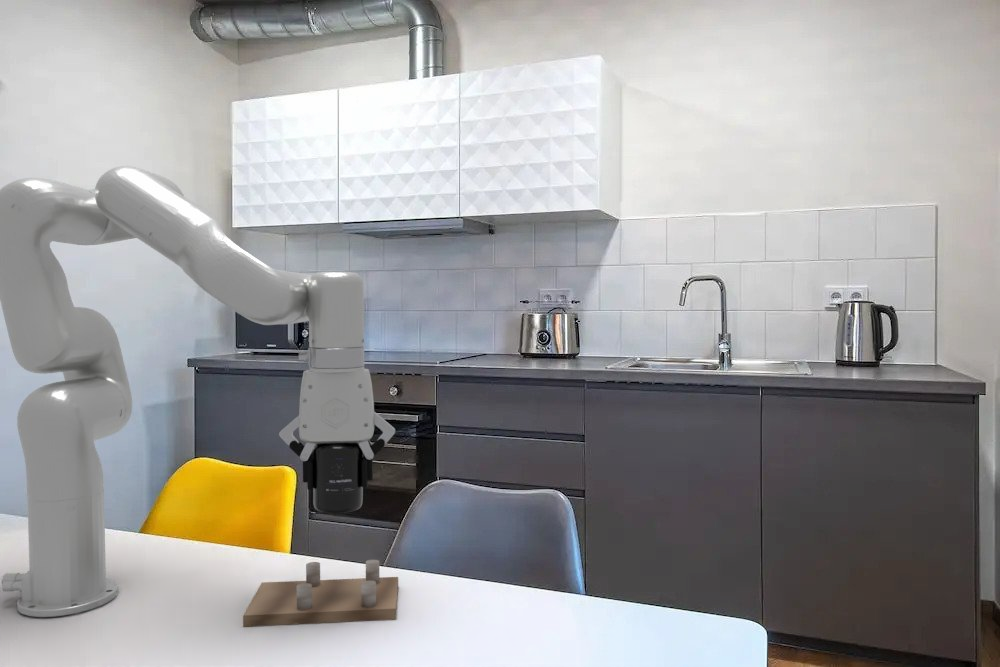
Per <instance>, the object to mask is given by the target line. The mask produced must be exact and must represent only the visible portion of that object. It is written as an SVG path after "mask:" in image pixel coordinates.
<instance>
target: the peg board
mask: <svg viewBox="0 0 1000 667" xmlns="http://www.w3.org/2000/svg"><path fill="white" fill-rule="evenodd" d="M398 593H399V576H385V577H380V560H378V559H368V560H366V561H365V577H362V578H360V577H359V578H342V579H341V578H338V579H337V578H336V579H321V563H320V562H318V561H311V562H307V563H306V564H305V580H293V581H291V580H289V581H288V580H287V581H286V580H285V581H265V582H261V583H260V585H259V587H258V588H257V590H256V591H255V594H254V595H253V597H252V599H251V601H250V603H249V604H248V606H247V607H246V610H245V611H244V613H243V615H242V627H244V628H245V627H263V626H264V627H265V626H283V625H284V626H286V625H287V626H288V625H289V626H290V625H307V624H308V625H309V624H327V623H328V624H329V623H345V622H346V623H348V622H367V621H368V622H369V621H373V622H374V621H391V620H393V621H394V620H397V609H398V597H399V594H398Z"/></svg>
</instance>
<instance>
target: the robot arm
mask: <svg viewBox="0 0 1000 667" xmlns="http://www.w3.org/2000/svg"><path fill="white" fill-rule="evenodd" d="M94 187H95V188H94V189H87V188H83V187H78V186H76V185H71V184H68V183H65V182H60V181H56V180H52V179H48V178H40V177H29V178H28V177H27V178H20V179H16V180H13V181H11V182H9V183H7V184H5V185H4V186H2V187H1V188H0V306H1V310H2V313H3V319H4V321H5V327H6V330H7V334H8V338H9V342H10V346H11V347H10V348H11V350H12V352H13V356H14V357H15V361H16V363H17V364H18V365H19V366H20V367H21V368H23V370H26V371H27V372H30V373H34V374H43V375H45V374H46V375H47V374H55V373H56V374H57V373H63V374H62V375H63V378H64V380H62V381H56V382H52V383H49V384H48V383H47V384H45V385H42V386H41V387H38V388H36V389H35V390H33V391H32V392H31V393H29V394H28V395H27V396H26V397H25V398H24V399H23V401H22V403H21V404H20V407H19V408H18V413H17V418H16V420H17V421H16V422H17V423H16V426H17V433H18V436H19V440H20V444H21V447H22V453H23V457H24V458H23V459H24V464H25V465H24V466H25V476H26V498H27V525H28V526H27V528H28V529H27V530H28V533H27V534H28V562H29V566H28V571H27V572H25V573H20V572H15V573H14V572H13V573H11V572H8V573H4V574H3V576H2V579H1V591H2V592H4V593H5V592H14V591H16V592H17V591H19V592H20V593H21V596H20V597H19V598H18V600H17V601H16V602H17V603H16V606H17V611H18V612H19V613H20V614H21V615H25V616H27V617H33V618H52V617H53V618H55V617H63V616H64V617H65V616H68V615H74V614H79V613H83V612H86V611H90V610H93V609H96V608H98V607H101V606H103V605H105V604H107V603H109V602H111V601H112V600H113V599H114V598H115V597H117V595H118V593H119V585H118V584H119V583H117V581H116V580H113V579H110V578H107V567H106V564H107V563H106V527H105V525H106V524H105V521H106V520H105V488H104V485H105V484H104V482H105V481H104V471H103V465H102V461H101V460H100V455H99V453H98V452H97V448H96V445H95V441H98V440H101V439H103V438H104V439H105V438H106V437H109V436H112V435H115V434H117V433H118V432H120V431H121V430H122V429H124V427H125V426H126V425H127V424H128V423H129V420H130V419H131V415H132V412H133V398H132V396H133V395H132V392H131V388H130V382H129V378H128V374H127V370H126V366H125V361H124V356H123V352H122V348H121V346H120V342H119V341H120V340H119V338H118V334H117V331H116V330H115V328H114V326H113V325H112V323H111V322H110V320H108V318H106V317H105V315H103V314H102V313H100V312H98V311H96V310H95V309H93V308H92V309H91V308H88V307H82V306H81V307H79V306H78V307H77V306H74V302H73V301H72V297H71V294H70V290H69V285H68V280H67V276H66V273H65V271H64V269H63V267H62V265H61V263H60V262H59V260H58V258H57V257H56V255H55V254H54V253H53V251H52V248H51V243H52V242H55V243H62V244H71V245H77V246H98V245H105V244H111V243H116V242H123V241H126V240H128V241H129V240H132V239H134V240H135V239H137V240H139V241H141V242H142V243H144V244H145V245H147V246H148V247H149V248H151V249H153V250H154V251H156V252H158V253H159V254H160V255H162V256H163V257H165V258H167V259H168V260H169V261H171V262H172V263H174V264H176V266H178V267H180V268H181V269H182V270H183V272H184V273H185V274H186V276H188V277H189V278H190V279H191V280H192V281H193V282H194V283H195V284H196V285H198V286H199V288H201V289H202V290H203V291H204V292H206V293H208V295H210V296H211V297H213V298H214V299H216V300H217V301H218V302H220V303H221V304H223V305H225V306H227V307H228V308H229V309H231V310H232V311H234V312H235V313H237V314H238V315H241V316H242V317H244V318H245V319H247V320H249V321H250V322H254V323H255V324H260V325H263V326H274V325H292V324H300V323H305V322H306V323H307V322H308V341H309V344H308V345H309V346H308V348H307V350H306V351H304V352H301V351H300V352H298V362H299V363H306V364H307V365H308V367H309V369H306V370H303V372H302V373H303V374H302V378H301V384H300V392H299V394H300V395H299V409H298V410H299V414H298V416H296V417H295V418H294V419H293V420H291V421H290V422H289V423H288V424H287V425H286V426H285V427H283V428H282V429H281V430H280V431H279V433H278V436H279V438H280V439H282V441H283V442H284V444H286V445H287V446H289V449H291V451H292V452H293V453H294V454H296V455H297V456H298V457H299V458H300V460H301V461H302V482H303V483H307V491H308V490H312V489H313V482H314V448H315V446H316V445H317V444H318V443H357V442H358V444H359V446H360V447H361V449H362V451H363V459H362V487H363V489H367V488H368V487H369V481H370V482H371V481H372V482H373V480H374V460H373V459H374V457H375V456H376V455H377V454H378V453H379V452H380V451H381V450H382V449H383V448H384V446H385V445H386V444H387V443H388V442H390V440H391V439H392V437H393V436H394V435H395V434H396V428H395V427H394V426H392V425H391V424H390V423H389V422H387V421H386V419H384V418H383V417H381V415H379V414H378V413H377V412H376V411H375V401H374V392H373V383H372V379H371V378H372V377H371V373H370V370H369V368H365V311H364V310H365V307H364V306H365V304H364V301H365V300H364V299H365V298H364V295H365V294H364V293H365V292H364V282H363V281H364V280H363V278H362V277H361V276H362V275H360V274H358V273H356V272H353V271H320V272H316V273H315V272H314V273H312V274H310V273H309V274H308V273H302V272H296V271H288V270H284V269H276V268H273V267H271V266H269V265H268V264H266V263H265V262H263V261H261V260H260V259H258V258H257V257H255V256H254V255H252V254H251V253H249V252H247V250H245V249H243V248H242V247H240V246H239V245H238V244H236V243H235V242H234V241H233V240H231V239H230V238H229V237H228V236H227V235H226V234H225V233H224V231H223V229H222V223H221V221H220V220H219V218H217V217H216V216H215V215H213V214H212V213H210V212H209V211H208V210H205V208H203V207H200V206H199V205H198V204H196V203H194V202H193V201H191V200H190V199H189V198H187V197H185V196H184V193H183V191H182V189H181V188H180V187H179V186H178V185H177V184H176V183H175V182H174V181H172V180H171V179H169V178H168V177H165V176H163V175H160V174H157V173H155V172H151V171H149V170H145V169H142V168H139V167H136V166H129V165H124V166H123V165H122V166H116V167H113V168H111V169H109V170H107V171H105V172H104V173H103V174H102V175H101V176H100V177H99V178H98V180H97V181H96V183H95V186H94ZM375 426H376V427H377V428H378V429H379V430H380V431H381V432H382V434H381V435H380V436H379V437H378V438H377V439H376V440H375V441H374V442H373V443H372V442H371V439H372V438H373V436H374V431H375ZM297 429H298V434H299V435H298V436H299V439H300V440H301V441H302V442H304V443H305V444H303V443H302V442H301V441H300V440H299V439H297V438H296V437H295V436H294V432H295V431H296V430H297Z"/></svg>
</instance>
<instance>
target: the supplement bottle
mask: <svg viewBox="0 0 1000 667" xmlns="http://www.w3.org/2000/svg"><path fill="white" fill-rule="evenodd" d="M363 455H364V453H363V451H362V449H361V447H360V446H359V444H358V442H357V443H317V444H316V446H315V448H314V450H313V457H314V482H313V491H312V492H313V497H312V498H313V500H312V501H313V507H314V509H315V510H317V511H318V512H320V513H327V514H342V513H350V512H354V511H357V510H359V509H361V507H362V505H363V499H364V497H363V496H364V493H363V492H364V490H363V489H364V488H363V487H362V459H363Z"/></svg>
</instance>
